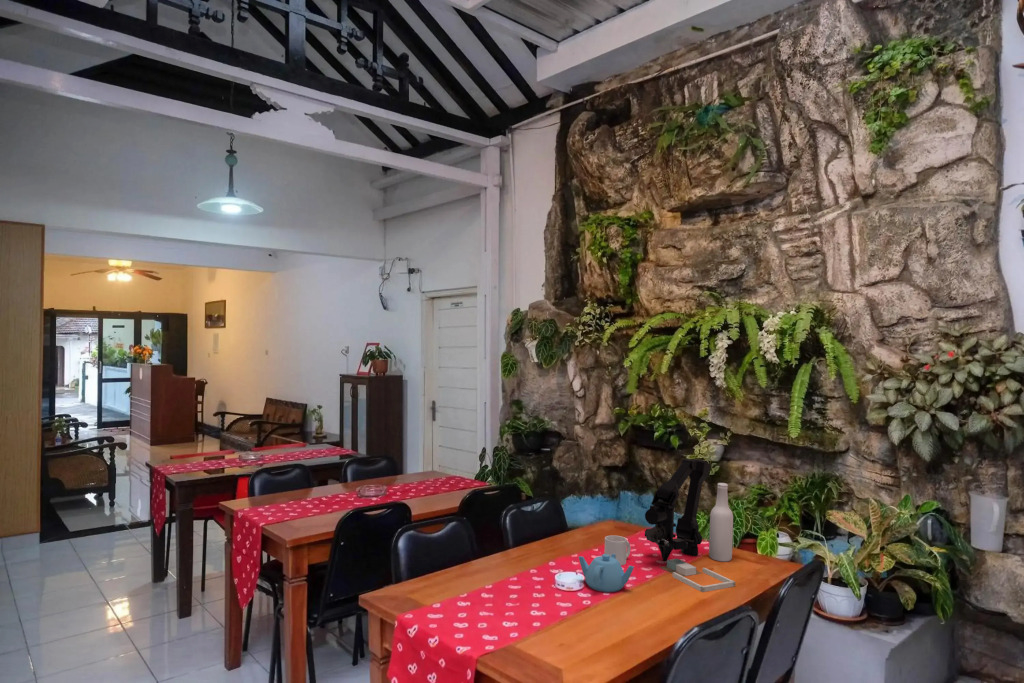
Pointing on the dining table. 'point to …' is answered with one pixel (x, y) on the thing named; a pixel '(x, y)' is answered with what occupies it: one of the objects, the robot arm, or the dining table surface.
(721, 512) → the alcohol
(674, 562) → the sage green block
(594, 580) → the teapot
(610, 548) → the mug
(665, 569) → the board
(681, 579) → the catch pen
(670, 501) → the robot arm
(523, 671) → the dining table surface
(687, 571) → the white tile
